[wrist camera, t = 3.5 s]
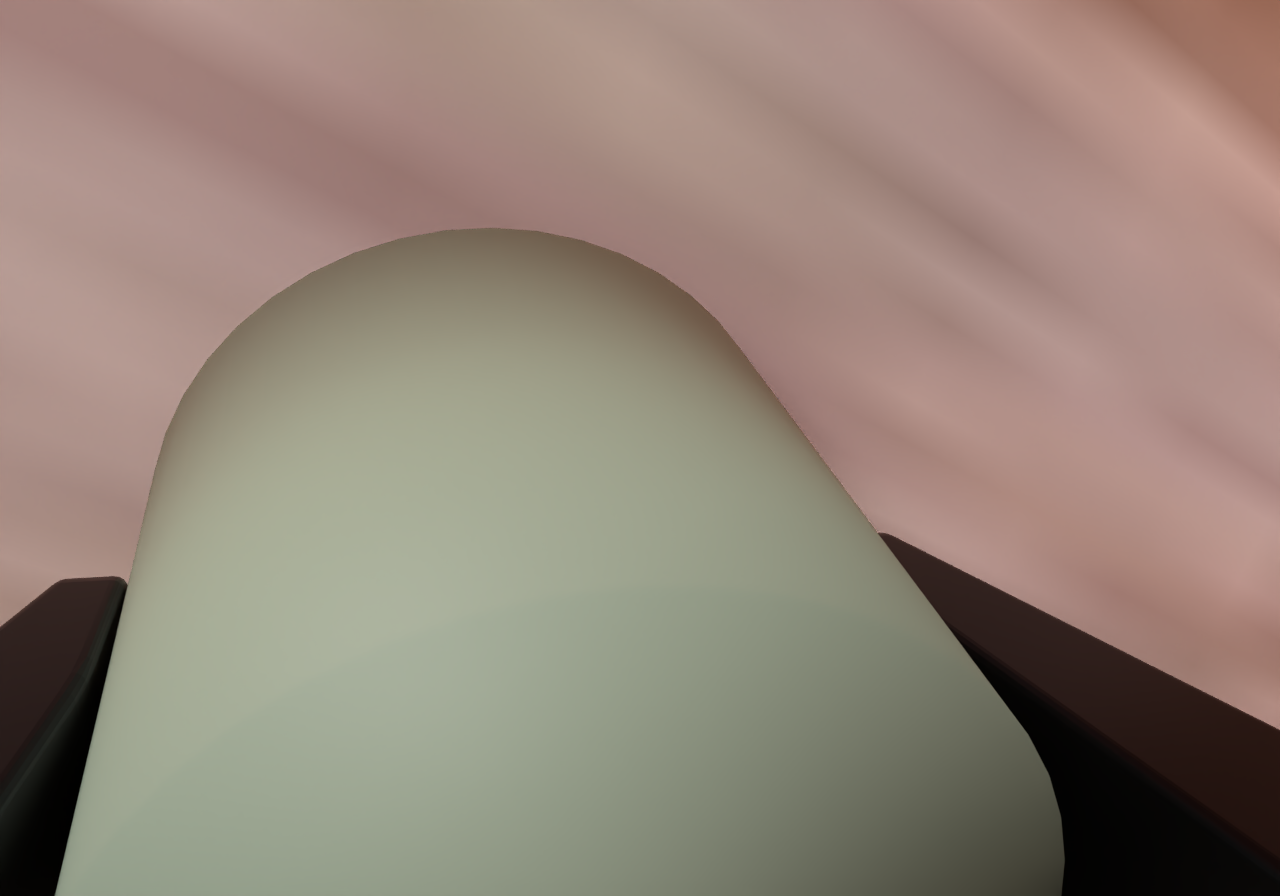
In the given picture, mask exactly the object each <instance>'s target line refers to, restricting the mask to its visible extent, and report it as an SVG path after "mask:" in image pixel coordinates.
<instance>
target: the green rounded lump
mask: <svg viewBox="0 0 1280 896" xmlns="http://www.w3.org/2000/svg"><path fill="white" fill-rule="evenodd" d="M1064 863H1065V857H1064V846H1063V834H1062V822H1061V815H1060V812H1059V808H1058V804H1057V801H1056V797H1055V794H1054V790H1053V787H1052V783H1051V780H1050V776H1049V774H1048V772H1047V770H1046V768H1045V766H1044V764H1043V762H1042V760H1041V758H1040V756H1039V754H1038V753H1037V751H1036V749H1035V747H1034V745H1033V743H1032V741H1031V739H1030V737H1029V735H1028V734H1027V732H1026V731H1025V730H1024V728H1023V727H1022V726H1021V724H1020V723H1019V722H1018V720H1017V719H1016V718H1015V716H1014V715H1013V714H1012V712H1011V711H1010V710H1009V708H1008V707H1007V706H1006V704H1005V703H1004V702H1003V700H1002V699H1001V698H1000V696H999V695H998V693H997V692H996V691H995V689H994V688H993V687H992V685H991V684H990V683H989V681H988V680H987V679H986V677H985V676H984V675H983V673H982V672H981V671H980V669H979V668H978V667H977V665H976V664H975V663H974V661H973V660H972V659H971V657H970V656H969V655H968V653H967V652H966V651H965V649H964V648H963V647H962V645H961V644H960V643H959V641H958V640H957V639H956V637H955V636H954V635H953V633H952V632H951V631H950V629H949V628H948V627H947V625H946V624H945V623H944V621H943V620H942V618H941V617H940V616H939V614H938V613H937V612H936V610H935V609H934V608H933V606H932V605H931V604H930V602H929V601H928V600H927V598H926V597H925V596H924V594H923V593H922V592H921V590H920V589H919V588H918V586H917V585H916V584H915V582H914V581H913V580H912V578H911V577H910V576H909V574H908V573H907V572H906V570H905V569H904V568H903V566H902V565H901V564H900V562H899V561H898V560H897V558H896V557H895V556H894V554H893V553H892V552H891V550H890V549H889V548H888V546H887V545H886V543H885V542H884V541H883V539H882V538H881V537H880V535H879V534H878V533H877V531H876V530H875V529H874V527H873V526H872V525H871V523H870V522H869V521H868V519H867V518H866V517H865V515H864V514H863V513H862V511H861V510H860V509H859V507H858V506H857V505H856V503H855V502H854V501H853V499H852V498H851V497H850V495H849V494H848V493H847V491H846V490H845V489H844V487H843V486H842V485H841V483H840V482H839V481H838V479H837V478H836V477H835V475H834V474H833V473H832V471H831V470H830V468H829V467H828V466H827V464H826V463H825V462H824V460H823V459H822V458H821V456H820V455H819V454H818V452H817V451H816V450H815V448H814V447H813V446H812V444H811V443H810V442H809V440H808V439H807V438H806V436H805V435H804V434H803V432H802V431H801V430H800V428H799V427H798V426H797V424H796V423H795V422H794V420H793V419H792V418H791V416H790V415H789V414H788V412H787V411H786V410H785V408H784V407H783V406H782V404H781V403H780V402H779V400H778V399H777V398H776V396H775V395H774V393H773V392H772V391H771V389H770V388H769V387H768V385H767V384H766V383H765V381H764V380H763V379H762V377H761V376H760V375H759V373H758V372H757V371H756V369H755V368H754V367H753V365H752V364H751V363H750V361H749V360H748V359H747V357H746V356H745V355H744V353H743V352H742V351H741V349H740V348H739V347H738V346H737V344H736V343H735V342H734V340H733V339H732V338H731V337H730V335H729V334H728V333H727V332H726V330H725V329H724V328H723V326H722V325H721V324H720V323H719V322H718V321H717V320H716V319H715V318H714V317H713V316H712V315H711V314H710V313H709V312H708V311H707V310H706V309H705V308H704V307H703V306H702V305H700V304H699V303H698V302H697V301H696V300H695V299H694V298H693V297H692V296H691V295H689V294H688V293H687V292H685V291H684V290H682V289H681V288H679V287H678V286H677V285H675V284H674V283H672V282H671V281H669V280H668V279H667V278H665V277H664V276H662V275H661V274H659V273H658V272H656V271H654V270H652V269H650V268H648V267H646V266H644V265H642V264H640V263H638V262H636V261H634V260H632V259H630V258H628V257H626V256H624V255H622V254H620V253H617V252H614V251H611V250H608V249H605V248H602V247H600V246H597V245H594V244H591V243H588V242H585V241H582V240H578V239H573V238H568V237H563V236H559V235H554V234H549V233H544V232H539V231H528V230H514V229H500V228H481V229H463V230H445V231H440V232H434V233H429V234H423V235H418V236H412V237H407V238H401V239H397V240H394V241H391V242H388V243H384V244H381V245H378V246H375V247H372V248H369V249H365V250H362V251H359V252H356V253H353V254H351V255H349V256H347V257H344V258H342V259H340V260H338V261H336V262H334V263H331V264H329V265H327V266H325V267H323V268H321V269H318V270H316V271H314V272H312V273H310V274H309V275H307V276H305V277H304V278H302V279H301V280H299V281H297V282H296V283H294V284H293V285H291V286H289V287H288V288H286V289H285V290H283V291H282V292H280V293H278V294H277V295H275V296H274V297H272V298H271V299H270V300H268V301H267V302H266V303H265V304H264V305H262V306H261V307H260V308H259V309H258V310H256V311H255V312H254V313H253V314H252V315H250V316H249V317H248V318H247V319H246V320H244V321H243V322H242V323H241V324H240V325H238V326H237V327H236V328H235V330H234V331H233V332H232V333H231V334H230V335H229V336H228V337H227V338H226V339H225V341H224V342H223V343H222V344H221V345H220V346H219V347H218V348H217V349H216V350H215V352H214V353H213V354H212V355H211V356H210V357H209V358H208V359H207V361H206V362H205V364H204V365H203V367H202V368H201V370H200V371H199V373H198V374H197V376H196V377H195V379H194V380H193V382H192V383H191V385H190V386H189V388H188V389H187V391H186V392H185V394H184V395H183V397H182V399H181V401H180V404H179V406H178V408H177V410H176V412H175V414H174V416H173V418H172V421H171V423H170V425H169V427H168V429H167V431H166V434H165V437H164V441H163V444H162V448H161V451H160V454H159V458H158V461H157V465H156V468H155V472H154V476H153V480H152V485H151V489H150V493H149V497H148V502H147V506H146V510H145V514H144V519H143V523H142V527H141V531H140V536H139V540H138V544H137V548H136V553H135V557H134V561H133V565H132V570H131V574H130V578H129V582H128V587H127V591H126V595H125V600H124V604H123V608H122V612H121V617H120V621H119V625H118V629H117V634H116V638H115V642H114V646H113V651H112V655H111V659H110V663H109V668H108V672H107V676H106V680H105V685H104V689H103V693H102V697H101V702H100V706H99V710H98V714H97V719H96V723H95V727H94V731H93V736H92V740H91V744H90V748H89V753H88V757H87V761H86V766H85V770H84V774H83V778H82V783H81V787H80V791H79V795H78V800H77V804H76V808H75V812H74V817H73V821H72V825H71V829H70V834H69V838H68V842H67V846H66V851H65V855H64V859H63V863H62V868H61V872H60V876H59V880H58V885H57V889H56V893H55V896H1061V894H1062V884H1063V873H1064Z"/></svg>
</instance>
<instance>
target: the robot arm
mask: <svg viewBox="0 0 1280 896" xmlns="http://www.w3.org/2000/svg"><path fill="white" fill-rule="evenodd" d="M878 534H879V535H880V537H881V538H882V539H883V541H884V542H885V543H886V545H887V546H888V548H889V549H890V550H891V552H892V553H893V554H894V556H895V557H896V558H897V560H898V561H899V562H900V564H901V565H902V566H903V568H904V569H905V570H906V572H907V573H908V574H909V576H910V577H911V578H912V580H913V581H914V582H915V584H916V585H917V586H918V588H919V589H920V590H921V592H922V593H923V594H924V596H925V597H926V598H927V600H928V601H929V602H930V604H931V605H932V606H933V608H934V609H935V610H936V612H937V613H938V614H939V616H940V617H941V618H942V620H943V621H944V623H945V624H946V625H947V627H948V628H949V629H950V631H951V632H952V633H953V635H954V636H955V637H956V639H957V640H958V641H959V643H960V644H961V645H962V647H963V648H964V649H965V651H966V652H967V653H968V655H969V656H970V657H971V659H972V660H973V661H974V663H975V664H976V665H977V667H978V668H979V669H980V671H981V672H982V673H983V675H984V676H985V677H986V679H987V680H988V681H989V683H990V684H991V685H992V687H993V688H994V689H995V691H996V692H997V693H998V695H999V696H1000V698H1001V699H1002V700H1003V702H1004V703H1005V704H1006V706H1007V707H1008V708H1009V710H1010V711H1011V712H1012V714H1013V715H1014V716H1015V718H1016V719H1017V720H1018V722H1019V723H1020V724H1021V726H1022V727H1023V728H1024V730H1025V731H1026V732H1027V734H1028V735H1029V737H1030V739H1031V741H1032V743H1033V745H1034V747H1035V749H1036V751H1037V753H1038V754H1039V756H1040V758H1041V760H1042V762H1043V764H1044V766H1045V768H1046V770H1047V772H1048V774H1049V776H1050V780H1051V783H1052V787H1053V790H1054V794H1055V797H1056V801H1057V804H1058V808H1059V812H1060V815H1061V822H1062V834H1063V846H1064V857H1065V863H1064V873H1063V884H1062V894H1061V896H1280V730H1279V729H1277V728H1275V727H1273V726H1271V725H1269V724H1267V723H1265V722H1263V721H1261V720H1259V719H1257V718H1255V717H1253V716H1251V715H1249V714H1247V713H1245V712H1243V711H1241V710H1239V709H1237V708H1235V707H1233V706H1231V705H1229V704H1227V703H1225V702H1223V701H1221V700H1219V699H1217V698H1215V697H1213V696H1211V695H1209V694H1207V693H1205V692H1203V691H1201V690H1199V689H1197V688H1195V687H1193V686H1191V685H1189V684H1187V683H1185V682H1183V681H1181V680H1179V679H1177V678H1175V677H1173V676H1171V675H1169V674H1167V673H1165V672H1163V671H1161V670H1159V669H1157V668H1155V667H1153V666H1151V665H1149V664H1147V663H1145V662H1143V661H1141V660H1139V659H1137V658H1135V657H1133V656H1131V655H1129V654H1127V653H1125V652H1123V651H1121V650H1119V649H1117V648H1115V647H1113V646H1111V645H1109V644H1107V643H1105V642H1103V641H1101V640H1099V639H1097V638H1095V637H1093V636H1091V635H1089V634H1087V633H1085V632H1083V631H1081V630H1079V629H1077V628H1075V627H1073V626H1071V625H1069V624H1067V623H1065V622H1063V621H1061V620H1059V619H1057V618H1055V617H1053V616H1051V615H1049V614H1047V613H1045V612H1043V611H1041V610H1039V609H1037V608H1035V607H1033V606H1031V605H1029V604H1027V603H1025V602H1023V601H1021V600H1019V599H1017V598H1016V597H1014V596H1012V595H1010V594H1008V593H1006V592H1004V591H1002V590H1000V589H998V588H996V587H994V586H992V585H990V584H988V583H986V582H984V581H982V580H980V579H978V578H976V577H974V576H972V575H970V574H968V573H966V572H964V571H962V570H960V569H958V568H956V567H954V566H952V565H950V564H948V563H946V562H944V561H942V560H940V559H938V558H936V557H934V556H932V555H930V554H928V553H926V552H924V551H922V550H920V549H918V548H916V547H914V546H912V545H910V544H908V543H906V542H904V541H902V540H900V539H898V538H896V537H894V536H892V535H889V534H886V533H878ZM127 587H128V585H127V583H126V582H125V580H124V579H122V578H120V577H115V576H109V577H91V578H73V579H64V580H60V581H58V582H57V583H55V584H54V585H52V586H51V587H50V588H48V589H47V590H46V591H45V592H43V593H42V594H41V595H40V596H38V597H37V598H36V599H35V600H33V601H32V602H31V603H30V604H28V605H27V606H26V607H25V608H23V609H22V610H21V611H20V612H18V613H17V614H16V615H15V616H13V617H12V618H11V619H10V620H8V621H7V622H6V623H5V624H3V625H2V626H1V627H0V896H55V893H56V889H57V885H58V880H59V876H60V872H61V868H62V863H63V859H64V855H65V851H66V846H67V842H68V838H69V834H70V829H71V825H72V821H73V817H74V812H75V808H76V804H77V800H78V795H79V791H80V787H81V783H82V778H83V774H84V770H85V766H86V761H87V757H88V753H89V748H90V744H91V740H92V736H93V731H94V727H95V723H96V719H97V714H98V710H99V706H100V702H101V697H102V693H103V689H104V685H105V680H106V676H107V672H108V668H109V663H110V659H111V655H112V651H113V646H114V642H115V638H116V634H117V629H118V625H119V621H120V617H121V612H122V608H123V604H124V600H125V595H126V591H127Z"/></svg>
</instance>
